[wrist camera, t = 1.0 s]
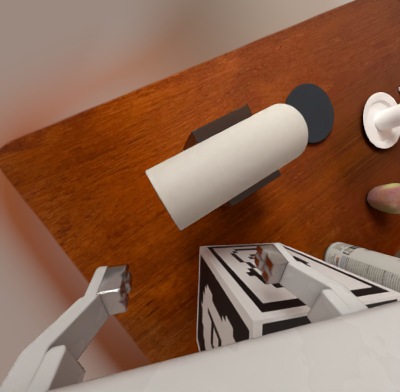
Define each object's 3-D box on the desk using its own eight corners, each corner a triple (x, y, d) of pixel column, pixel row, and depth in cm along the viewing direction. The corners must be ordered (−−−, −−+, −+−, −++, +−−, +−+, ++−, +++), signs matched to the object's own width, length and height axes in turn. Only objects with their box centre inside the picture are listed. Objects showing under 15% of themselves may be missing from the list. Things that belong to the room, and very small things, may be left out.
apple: (371, 172, 34) (414, 168, 28) (385, 202, 35) (429, 203, 29) (354, 188, 33) (396, 187, 27) (370, 218, 34) (412, 223, 28)
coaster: (275, 98, 28) (277, 96, 27) (317, 77, 30) (320, 74, 29) (299, 153, 29) (302, 152, 29) (338, 129, 31) (341, 128, 31)
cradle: (182, 148, 24) (191, 130, 17) (224, 127, 26) (247, 103, 19) (213, 204, 25) (232, 207, 18) (251, 180, 27) (281, 175, 20)
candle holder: (367, 156, 33) (396, 151, 29) (352, 101, 32) (381, 87, 28) (401, 140, 36) (433, 133, 32) (389, 89, 35) (421, 74, 31)
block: (279, 242, 28) (403, 294, 14) (276, 324, 28) (396, 462, 14) (199, 246, 25) (253, 321, 10) (196, 339, 25) (245, 548, 10)
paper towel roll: (146, 174, 17) (139, 167, 11) (253, 118, 20) (295, 89, 14) (175, 222, 18) (184, 241, 12) (271, 163, 21) (318, 154, 15)
